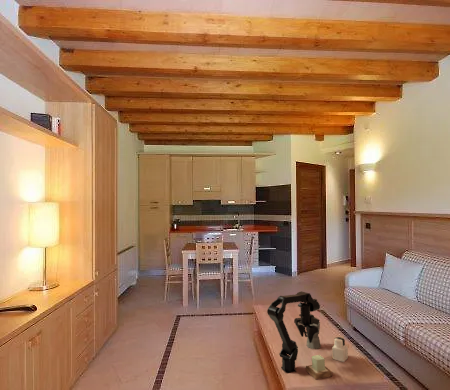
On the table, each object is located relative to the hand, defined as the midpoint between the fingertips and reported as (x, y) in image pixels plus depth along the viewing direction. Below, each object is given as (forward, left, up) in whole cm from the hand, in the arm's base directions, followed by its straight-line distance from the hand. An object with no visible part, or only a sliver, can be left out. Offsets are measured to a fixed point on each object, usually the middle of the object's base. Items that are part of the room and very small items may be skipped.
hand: (306, 339), depth 190 cm
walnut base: (-1, -14, -13) cm, 19 cm away
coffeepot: (+14, +17, -13) cm, 26 cm away
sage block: (-1, -14, -10) cm, 17 cm away
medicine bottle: (+21, -3, -13) cm, 25 cm away
